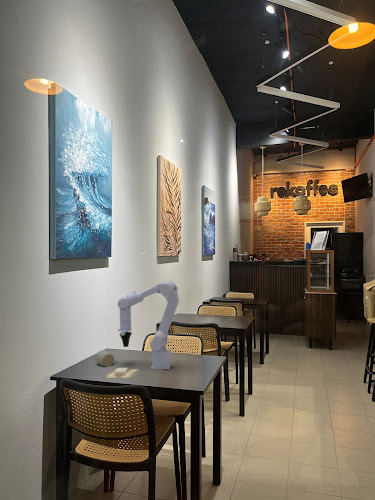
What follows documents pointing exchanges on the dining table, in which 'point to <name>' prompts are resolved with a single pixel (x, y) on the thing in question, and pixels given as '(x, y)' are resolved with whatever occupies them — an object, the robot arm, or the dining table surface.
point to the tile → (120, 371)
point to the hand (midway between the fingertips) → (126, 346)
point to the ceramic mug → (105, 358)
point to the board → (130, 374)
